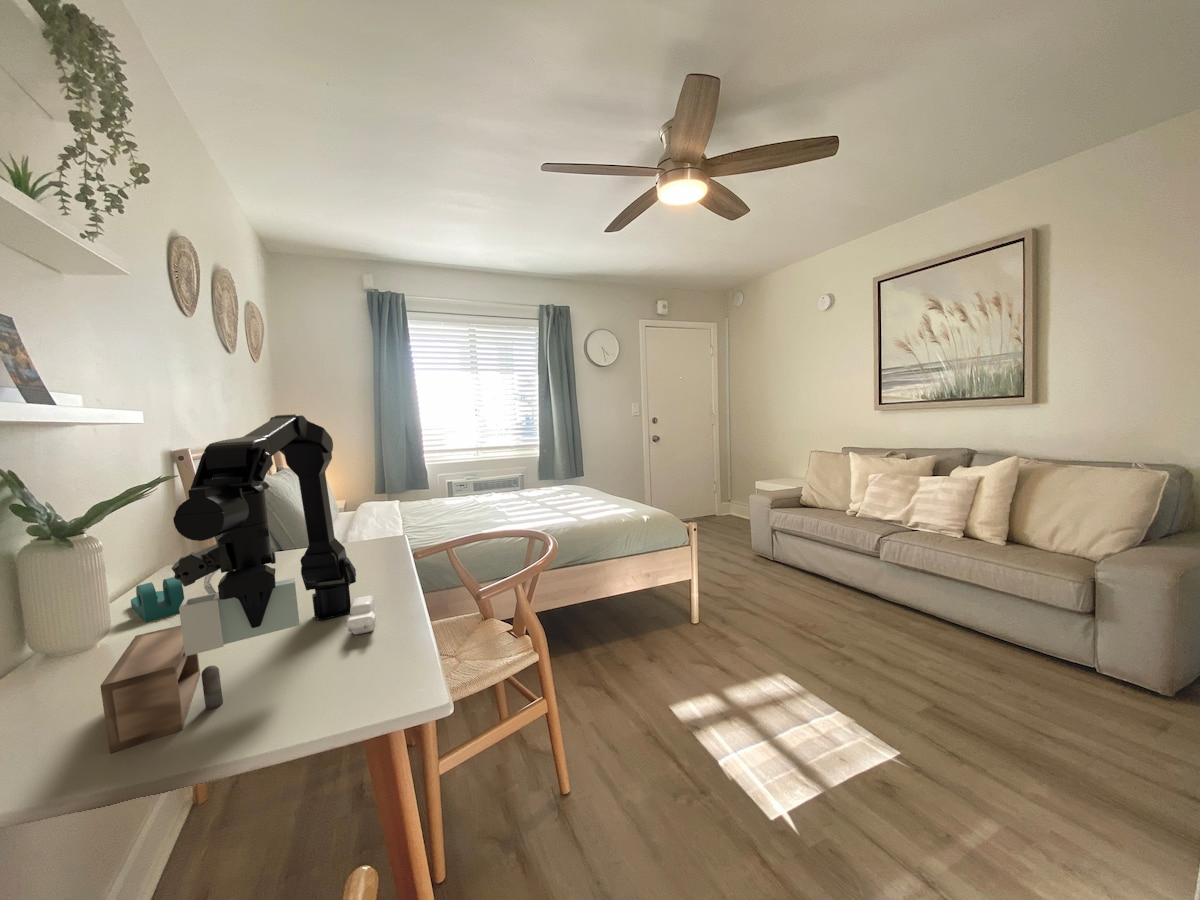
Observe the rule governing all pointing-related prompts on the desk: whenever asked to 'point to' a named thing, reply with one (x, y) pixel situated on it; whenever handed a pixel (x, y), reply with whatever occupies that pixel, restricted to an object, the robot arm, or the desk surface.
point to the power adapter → (361, 615)
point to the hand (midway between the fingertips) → (256, 623)
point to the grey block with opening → (234, 618)
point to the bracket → (158, 600)
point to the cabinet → (154, 689)
